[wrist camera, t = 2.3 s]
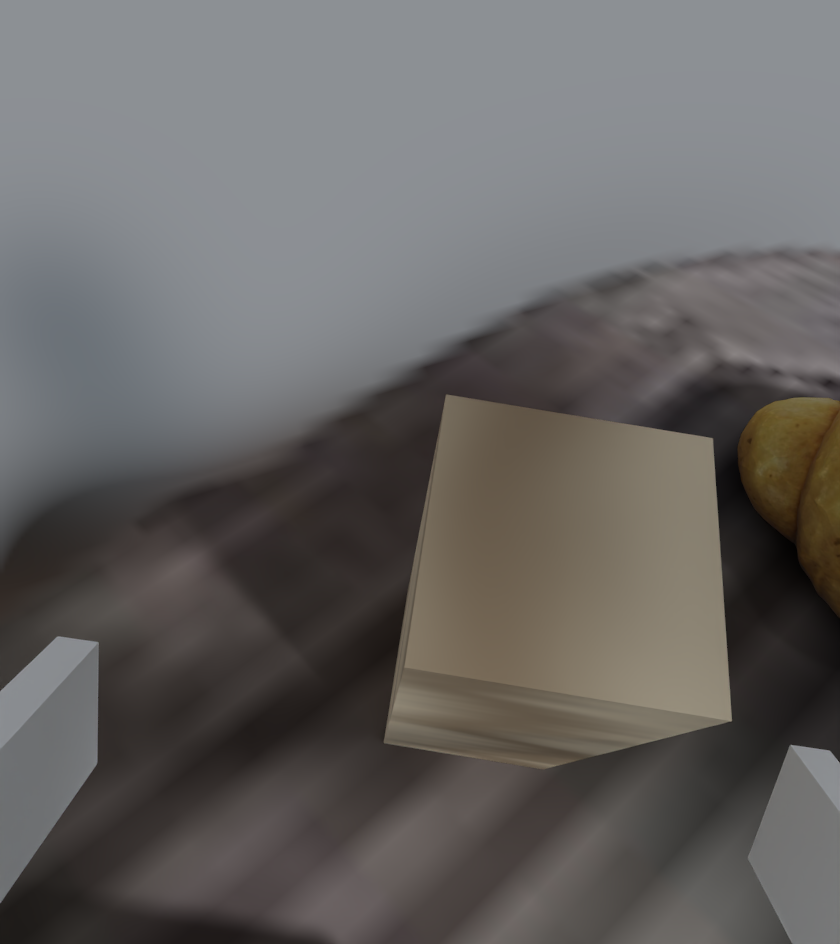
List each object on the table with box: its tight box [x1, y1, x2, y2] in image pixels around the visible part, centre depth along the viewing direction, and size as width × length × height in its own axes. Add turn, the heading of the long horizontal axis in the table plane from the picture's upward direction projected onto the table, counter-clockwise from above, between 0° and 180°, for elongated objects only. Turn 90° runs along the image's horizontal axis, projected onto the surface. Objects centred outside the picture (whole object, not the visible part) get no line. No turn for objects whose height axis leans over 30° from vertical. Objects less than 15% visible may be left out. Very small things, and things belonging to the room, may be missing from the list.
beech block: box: [384, 395, 732, 769], centre depth 17 cm, size 5×5×12 cm
